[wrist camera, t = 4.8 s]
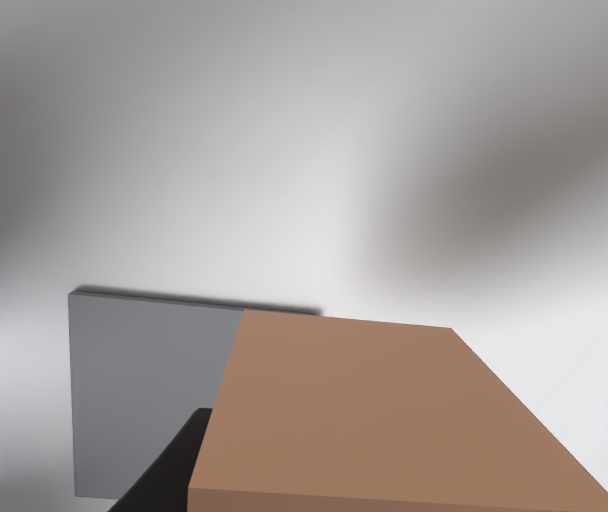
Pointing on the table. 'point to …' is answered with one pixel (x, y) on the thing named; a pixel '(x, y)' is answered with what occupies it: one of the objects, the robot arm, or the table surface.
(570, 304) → the table surface
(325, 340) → the terracotta block
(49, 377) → the table surface
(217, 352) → the charcoal mat
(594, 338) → the table surface
